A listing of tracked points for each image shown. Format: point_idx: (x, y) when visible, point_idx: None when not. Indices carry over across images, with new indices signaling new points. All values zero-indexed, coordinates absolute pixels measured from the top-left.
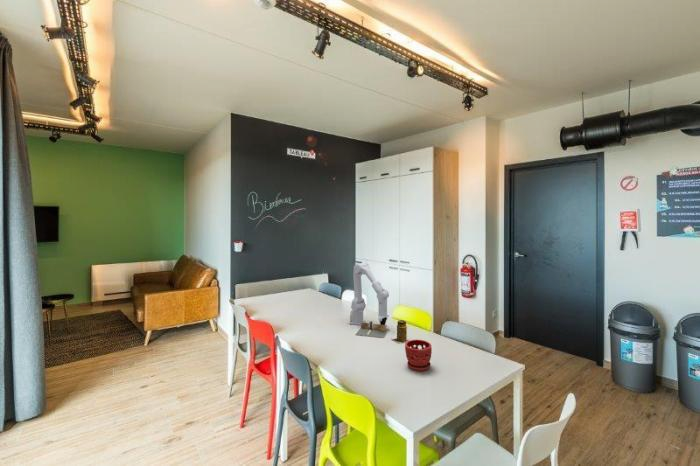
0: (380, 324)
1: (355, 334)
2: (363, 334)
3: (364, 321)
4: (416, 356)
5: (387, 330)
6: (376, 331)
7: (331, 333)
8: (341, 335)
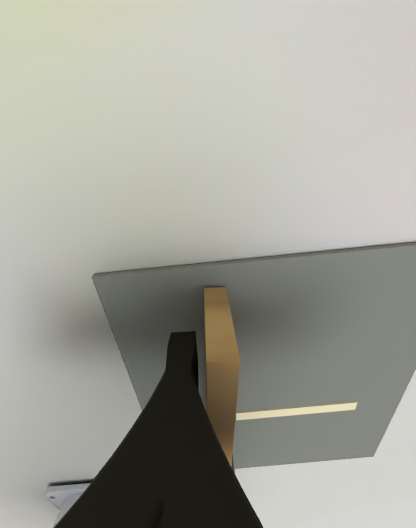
0: (215, 432)
1: (367, 456)
2: (363, 423)
3: (52, 494)
4: None
5: (166, 277)
6: (254, 369)
7: (350, 520)
8: (381, 491)
